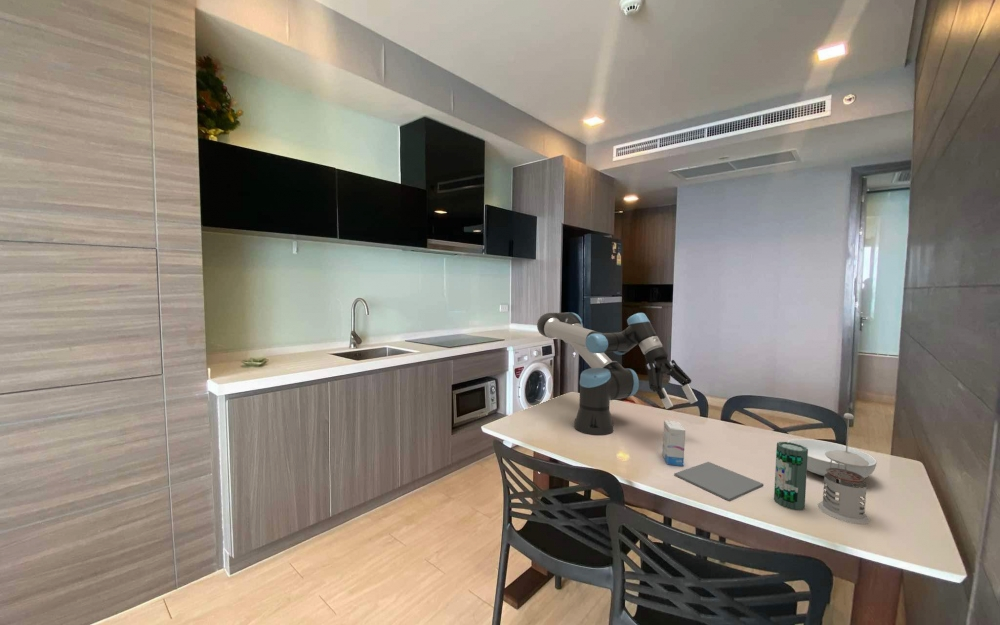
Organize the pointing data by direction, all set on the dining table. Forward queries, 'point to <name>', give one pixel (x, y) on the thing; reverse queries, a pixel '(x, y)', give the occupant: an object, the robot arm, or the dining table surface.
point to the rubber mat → (719, 480)
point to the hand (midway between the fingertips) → (682, 404)
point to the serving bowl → (821, 462)
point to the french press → (845, 486)
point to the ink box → (673, 443)
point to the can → (790, 475)
